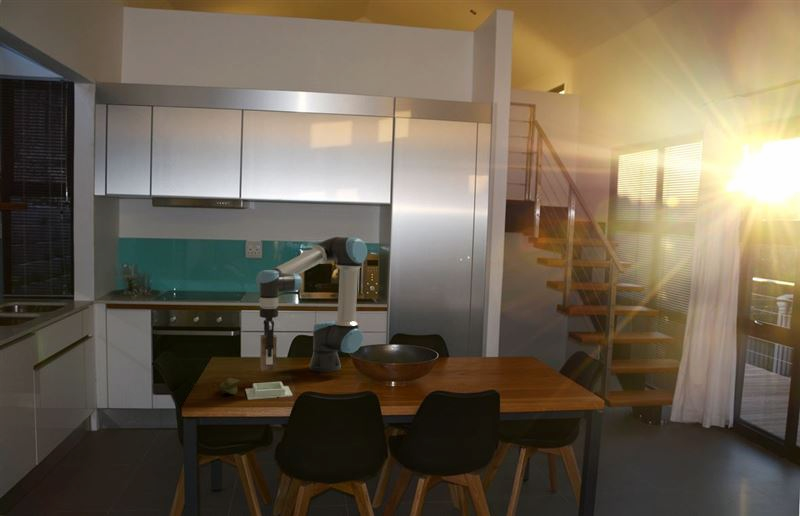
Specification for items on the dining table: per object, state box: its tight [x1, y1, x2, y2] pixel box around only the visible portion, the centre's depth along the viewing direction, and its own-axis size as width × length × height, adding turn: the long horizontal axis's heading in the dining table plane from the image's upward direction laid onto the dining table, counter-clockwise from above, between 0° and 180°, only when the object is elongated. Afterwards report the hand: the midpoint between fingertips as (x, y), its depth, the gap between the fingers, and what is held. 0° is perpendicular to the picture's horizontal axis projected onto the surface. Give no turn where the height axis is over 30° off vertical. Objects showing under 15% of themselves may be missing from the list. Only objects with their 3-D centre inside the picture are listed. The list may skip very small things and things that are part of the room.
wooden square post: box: [259, 334, 277, 372], centre depth 257 cm, size 6×5×14 cm
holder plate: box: [245, 381, 294, 401], centre depth 258 cm, size 18×14×3 cm
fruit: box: [219, 377, 241, 395], centre depth 257 cm, size 11×12×7 cm
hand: (268, 362), depth 257 cm, fingers closed on wooden square post, 5 cm apart
